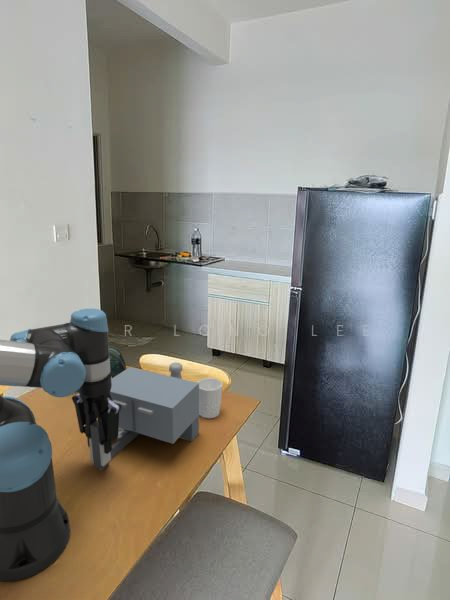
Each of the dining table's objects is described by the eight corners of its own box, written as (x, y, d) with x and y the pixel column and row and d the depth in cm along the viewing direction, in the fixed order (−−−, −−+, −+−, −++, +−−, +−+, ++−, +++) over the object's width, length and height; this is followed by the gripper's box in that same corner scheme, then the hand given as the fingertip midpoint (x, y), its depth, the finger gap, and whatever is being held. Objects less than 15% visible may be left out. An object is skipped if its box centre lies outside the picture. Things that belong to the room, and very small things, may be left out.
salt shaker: (188, 398, 126) (188, 363, 122) (177, 406, 121) (177, 369, 117) (175, 393, 129) (174, 358, 125) (163, 401, 124) (162, 365, 120)
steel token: (136, 438, 105) (136, 435, 105) (113, 441, 103) (113, 438, 103) (134, 425, 111) (134, 422, 110) (113, 429, 109) (113, 426, 109)
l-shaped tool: (101, 470, 93) (98, 428, 89) (94, 467, 94) (90, 425, 90) (146, 429, 108) (145, 392, 105) (139, 427, 109) (137, 390, 106)
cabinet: (171, 466, 94) (170, 410, 90) (99, 442, 103) (94, 389, 99) (198, 433, 108) (198, 383, 103) (132, 414, 116) (129, 366, 112)
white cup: (226, 412, 118) (227, 383, 116) (208, 422, 113) (209, 393, 110) (209, 403, 123) (209, 375, 121) (191, 412, 118) (191, 383, 115)
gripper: (131, 375, 88) (135, 460, 94) (80, 362, 94) (88, 443, 100) (109, 389, 81) (115, 480, 87) (56, 374, 87) (66, 460, 94)
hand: (101, 460), depth 94 cm, fingers closed on l-shaped tool, 2 cm apart
